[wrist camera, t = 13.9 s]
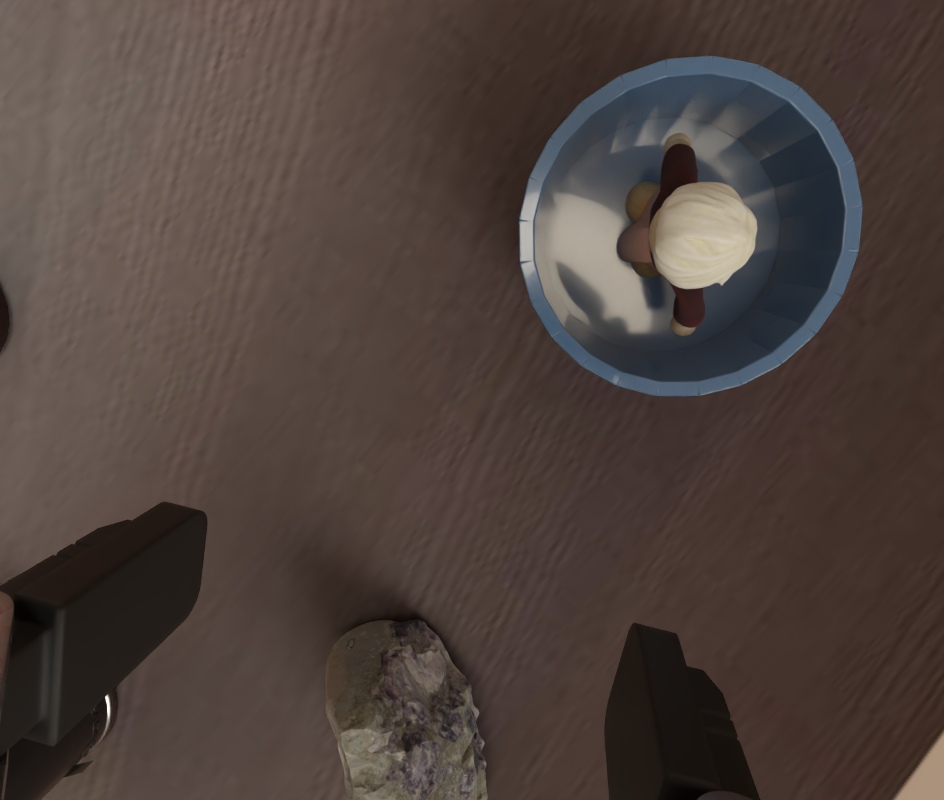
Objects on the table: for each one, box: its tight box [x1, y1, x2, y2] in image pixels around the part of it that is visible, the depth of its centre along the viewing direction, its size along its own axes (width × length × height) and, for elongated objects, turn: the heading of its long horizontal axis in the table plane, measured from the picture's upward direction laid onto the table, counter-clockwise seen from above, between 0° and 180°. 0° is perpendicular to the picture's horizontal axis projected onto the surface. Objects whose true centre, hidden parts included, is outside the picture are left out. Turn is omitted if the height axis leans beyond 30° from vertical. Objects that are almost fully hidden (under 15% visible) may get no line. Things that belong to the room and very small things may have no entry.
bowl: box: [519, 55, 863, 396], centre depth 28 cm, size 12×12×8 cm
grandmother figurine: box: [618, 133, 757, 336], centre depth 26 cm, size 8×4×13 cm, turn 18°
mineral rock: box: [325, 619, 487, 800], centre depth 36 cm, size 13×11×10 cm
